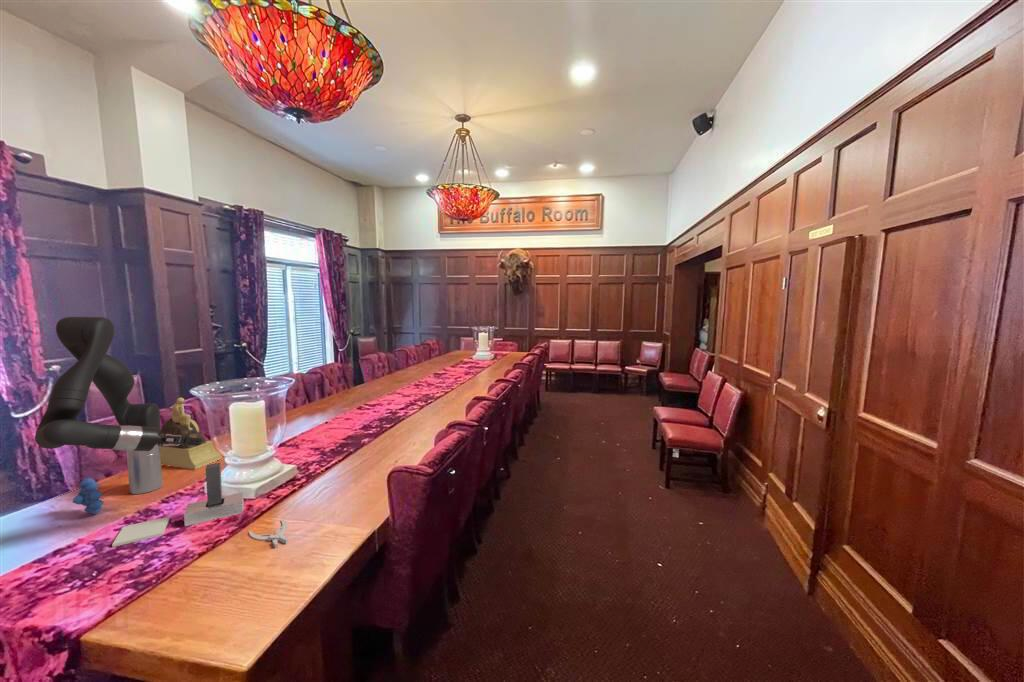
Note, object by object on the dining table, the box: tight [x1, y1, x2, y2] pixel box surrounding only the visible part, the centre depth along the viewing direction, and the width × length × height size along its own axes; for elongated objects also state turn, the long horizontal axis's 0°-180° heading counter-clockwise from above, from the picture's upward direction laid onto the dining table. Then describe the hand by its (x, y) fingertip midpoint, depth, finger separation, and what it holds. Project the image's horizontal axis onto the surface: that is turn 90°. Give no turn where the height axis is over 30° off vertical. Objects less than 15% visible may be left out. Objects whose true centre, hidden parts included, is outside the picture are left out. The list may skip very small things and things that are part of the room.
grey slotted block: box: [183, 492, 245, 527], centre depth 130 cm, size 8×15×4 cm, turn 123°
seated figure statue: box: [160, 397, 224, 470], centre depth 173 cm, size 28×13×30 cm, turn 77°
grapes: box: [72, 477, 104, 515], centre depth 129 cm, size 12×7×12 cm, turn 65°
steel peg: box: [205, 462, 223, 507], centre depth 129 cm, size 4×4×17 cm
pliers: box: [248, 519, 289, 549], centre depth 118 cm, size 10×2×15 cm
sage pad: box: [111, 516, 170, 548], centre depth 119 cm, size 11×11×1 cm
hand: (195, 441), depth 134 cm, fingers open, 8 cm apart
